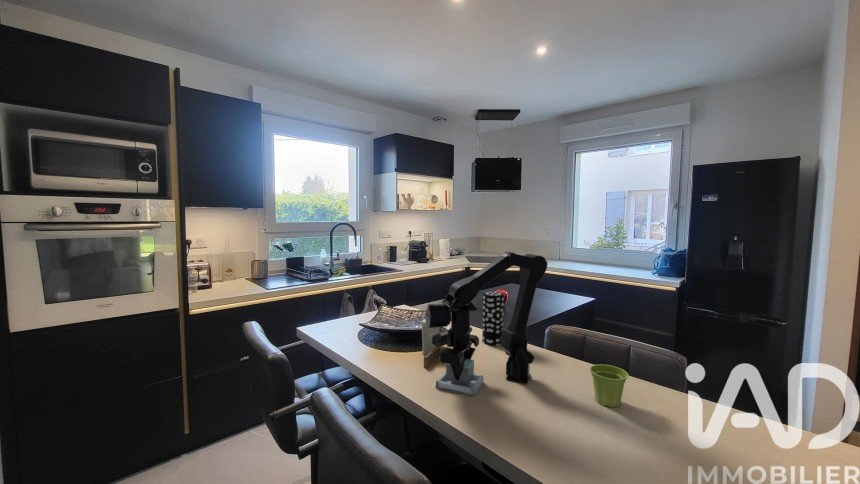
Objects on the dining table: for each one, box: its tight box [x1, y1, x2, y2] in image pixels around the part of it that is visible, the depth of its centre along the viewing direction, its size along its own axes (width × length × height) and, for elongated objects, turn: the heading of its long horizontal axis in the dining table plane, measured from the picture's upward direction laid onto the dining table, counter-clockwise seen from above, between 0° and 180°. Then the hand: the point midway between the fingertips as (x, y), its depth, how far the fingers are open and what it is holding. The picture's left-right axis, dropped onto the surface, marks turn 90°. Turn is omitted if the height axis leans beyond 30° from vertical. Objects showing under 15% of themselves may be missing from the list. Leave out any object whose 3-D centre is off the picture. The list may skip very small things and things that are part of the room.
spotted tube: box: [481, 291, 505, 347], centre depth 142 cm, size 8×8×20 cm
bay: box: [423, 345, 453, 368], centre depth 121 cm, size 11×12×4 cm
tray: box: [435, 371, 484, 397], centre depth 106 cm, size 12×10×2 cm
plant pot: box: [589, 363, 629, 408], centre depth 96 cm, size 9×9×9 cm
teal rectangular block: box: [445, 358, 475, 385], centre depth 106 cm, size 7×5×6 cm
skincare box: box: [421, 318, 440, 355], centre depth 131 cm, size 6×4×12 cm
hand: (460, 375), depth 106 cm, fingers closed on teal rectangular block, 5 cm apart
